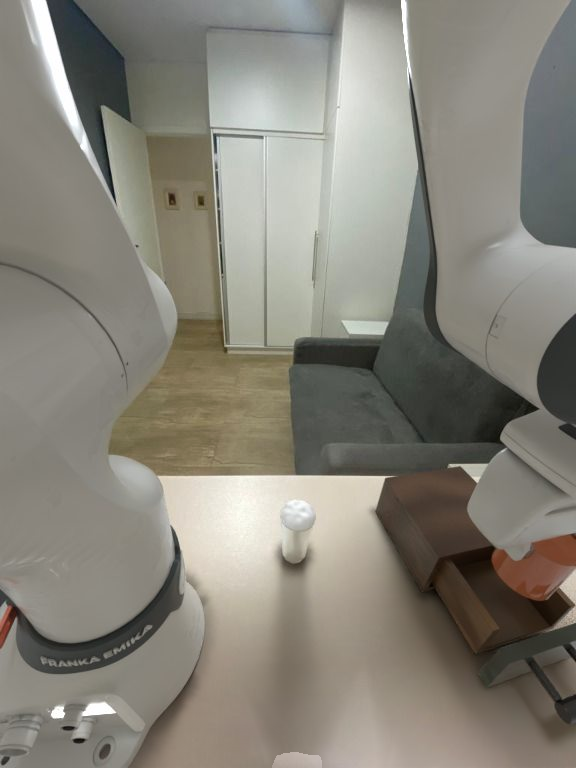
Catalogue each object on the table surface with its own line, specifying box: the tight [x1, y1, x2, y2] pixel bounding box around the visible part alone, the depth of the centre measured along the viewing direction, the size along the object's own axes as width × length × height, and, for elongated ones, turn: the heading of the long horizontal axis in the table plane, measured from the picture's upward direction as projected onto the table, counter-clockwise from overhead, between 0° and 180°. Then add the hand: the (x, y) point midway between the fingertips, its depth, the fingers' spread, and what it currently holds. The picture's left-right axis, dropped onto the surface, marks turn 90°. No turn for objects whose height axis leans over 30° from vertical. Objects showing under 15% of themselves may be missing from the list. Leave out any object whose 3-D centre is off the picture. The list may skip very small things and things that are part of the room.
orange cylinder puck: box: [492, 534, 576, 601], centre depth 32 cm, size 6×6×6 cm
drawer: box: [432, 548, 576, 725], centre depth 34 cm, size 16×12×6 cm
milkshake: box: [279, 498, 317, 565], centre depth 41 cm, size 4×5×10 cm
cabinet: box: [375, 465, 496, 593], centre depth 45 cm, size 13×14×8 cm
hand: (540, 546), depth 31 cm, fingers closed on orange cylinder puck, 5 cm apart
